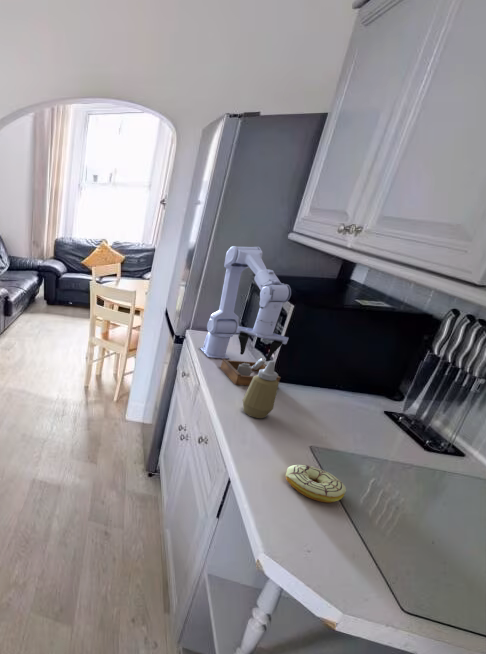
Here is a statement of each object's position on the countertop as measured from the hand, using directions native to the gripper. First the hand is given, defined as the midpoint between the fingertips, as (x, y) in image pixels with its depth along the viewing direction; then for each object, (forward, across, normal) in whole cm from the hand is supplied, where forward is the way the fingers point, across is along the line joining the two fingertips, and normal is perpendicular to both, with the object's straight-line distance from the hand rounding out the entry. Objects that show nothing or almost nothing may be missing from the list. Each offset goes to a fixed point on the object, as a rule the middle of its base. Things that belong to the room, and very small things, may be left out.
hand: (254, 357), depth 136 cm
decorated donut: (+10, +26, -49) cm, 56 cm away
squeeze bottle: (+10, +7, -21) cm, 25 cm away
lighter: (+10, -1, +5) cm, 12 cm away
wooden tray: (+10, -1, +5) cm, 11 cm away
